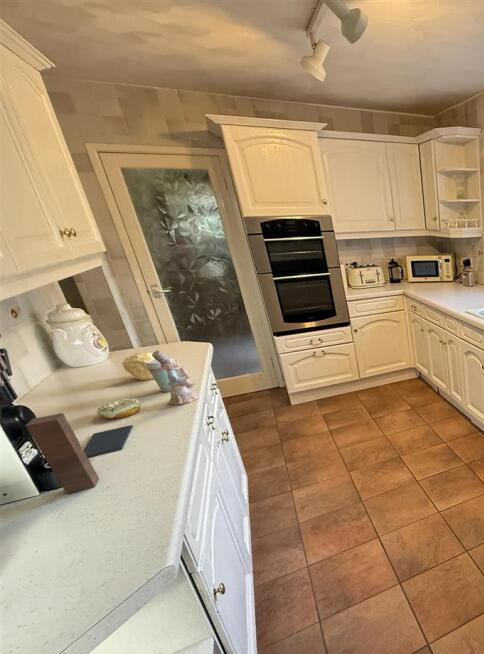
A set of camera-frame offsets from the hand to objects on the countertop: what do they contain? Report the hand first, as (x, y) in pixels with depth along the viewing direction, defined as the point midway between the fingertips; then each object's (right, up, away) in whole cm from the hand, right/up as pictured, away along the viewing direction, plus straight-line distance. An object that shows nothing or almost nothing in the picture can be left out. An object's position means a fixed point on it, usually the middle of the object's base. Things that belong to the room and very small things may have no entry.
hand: (8, 401), depth 79 cm
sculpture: (-49, +6, +84) cm, 98 cm away
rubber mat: (-18, -14, +37) cm, 43 cm away
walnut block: (-4, -22, +18) cm, 28 cm away
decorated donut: (-31, -7, +54) cm, 62 cm away
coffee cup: (-30, +1, +72) cm, 78 cm away
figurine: (-16, -3, +62) cm, 64 cm away
